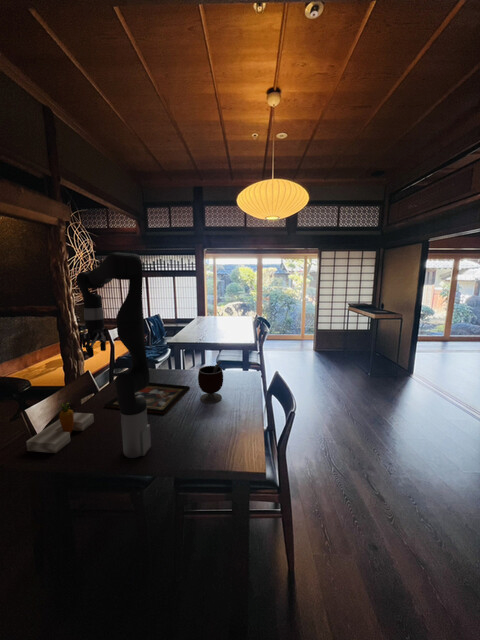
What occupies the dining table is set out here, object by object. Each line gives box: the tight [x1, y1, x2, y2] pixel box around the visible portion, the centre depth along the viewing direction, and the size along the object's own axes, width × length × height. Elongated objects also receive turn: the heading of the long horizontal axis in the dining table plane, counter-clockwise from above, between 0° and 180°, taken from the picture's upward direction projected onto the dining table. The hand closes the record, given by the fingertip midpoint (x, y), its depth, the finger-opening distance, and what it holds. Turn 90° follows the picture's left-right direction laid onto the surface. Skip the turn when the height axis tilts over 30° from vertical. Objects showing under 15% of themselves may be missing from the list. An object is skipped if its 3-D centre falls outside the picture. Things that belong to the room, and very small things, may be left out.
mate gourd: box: [197, 360, 224, 405], centre depth 142 cm, size 16×14×20 cm
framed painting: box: [103, 381, 190, 415], centre depth 144 cm, size 38×35×3 cm
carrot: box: [58, 402, 74, 435], centre depth 108 cm, size 5×5×15 cm
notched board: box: [26, 412, 95, 454], centre depth 109 cm, size 12×22×4 cm, turn 174°
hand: (97, 353), depth 115 cm, fingers open, 8 cm apart
